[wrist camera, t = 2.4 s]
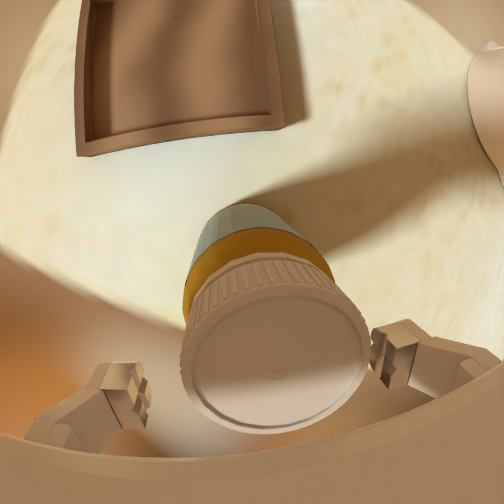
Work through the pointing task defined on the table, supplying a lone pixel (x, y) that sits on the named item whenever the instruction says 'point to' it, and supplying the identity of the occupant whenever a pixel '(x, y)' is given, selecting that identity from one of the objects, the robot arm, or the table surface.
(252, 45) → the serving tray
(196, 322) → the bottle
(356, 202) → the table surface
